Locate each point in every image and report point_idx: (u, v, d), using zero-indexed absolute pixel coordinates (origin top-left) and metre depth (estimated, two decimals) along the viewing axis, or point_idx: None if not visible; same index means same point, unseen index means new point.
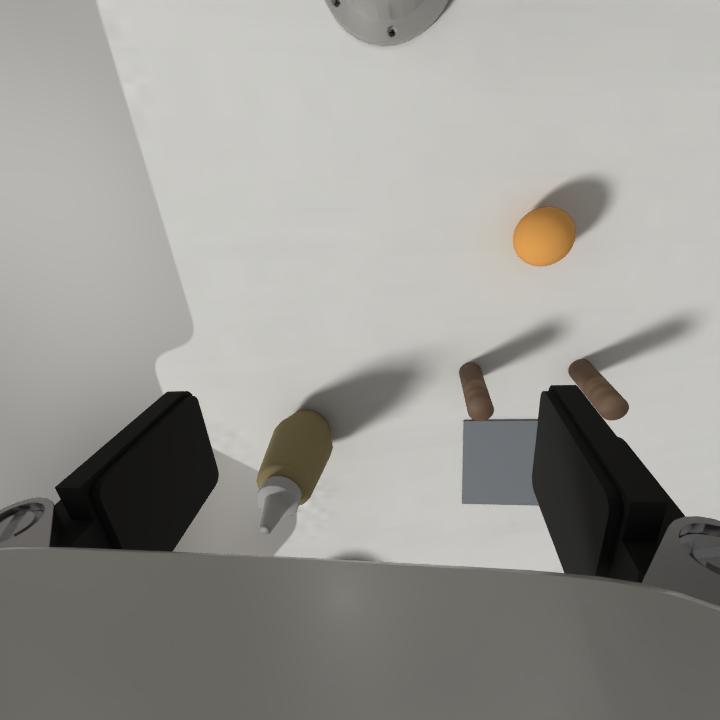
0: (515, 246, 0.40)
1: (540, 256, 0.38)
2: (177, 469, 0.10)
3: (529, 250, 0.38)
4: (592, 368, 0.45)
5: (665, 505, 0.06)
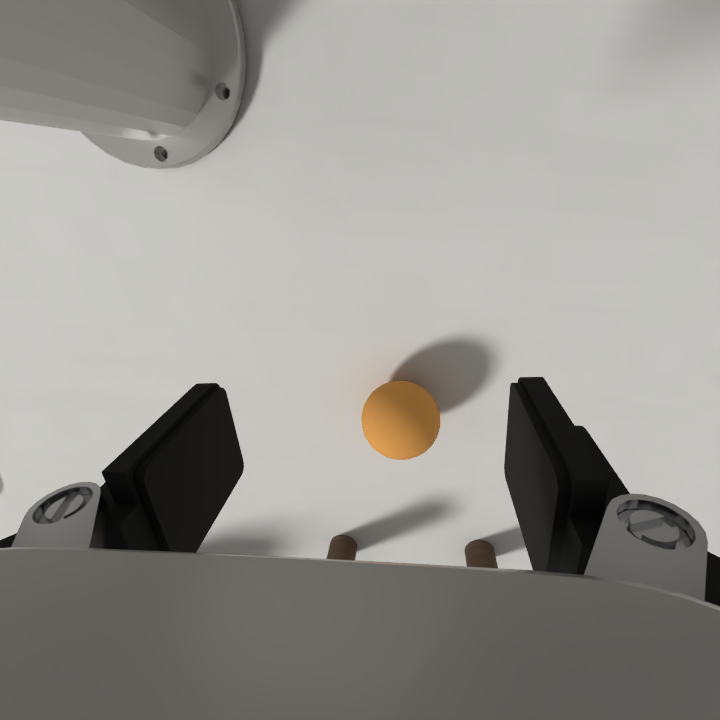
0: (363, 430, 0.29)
1: (389, 455, 0.27)
2: (208, 458, 0.10)
3: (374, 446, 0.27)
4: (487, 563, 0.34)
5: (607, 483, 0.06)
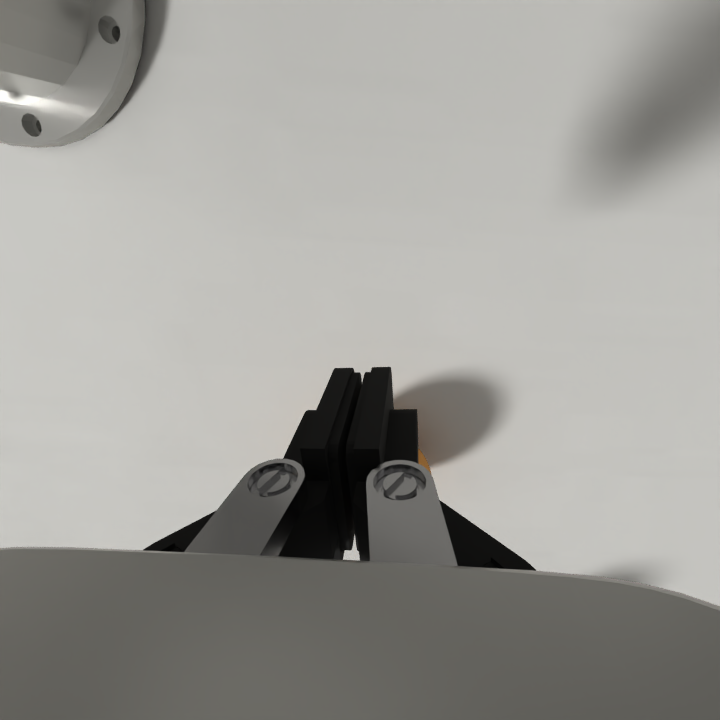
0: None
1: None
2: None
3: None
4: None
5: (378, 451, 0.08)
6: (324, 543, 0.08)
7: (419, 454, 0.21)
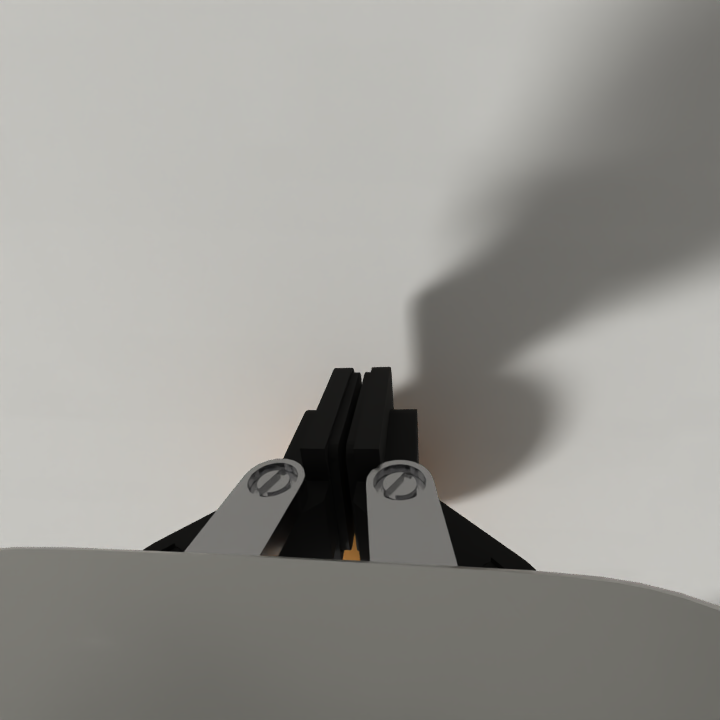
0: None
1: None
2: None
3: None
4: None
5: (378, 451, 0.08)
6: (324, 543, 0.08)
7: None
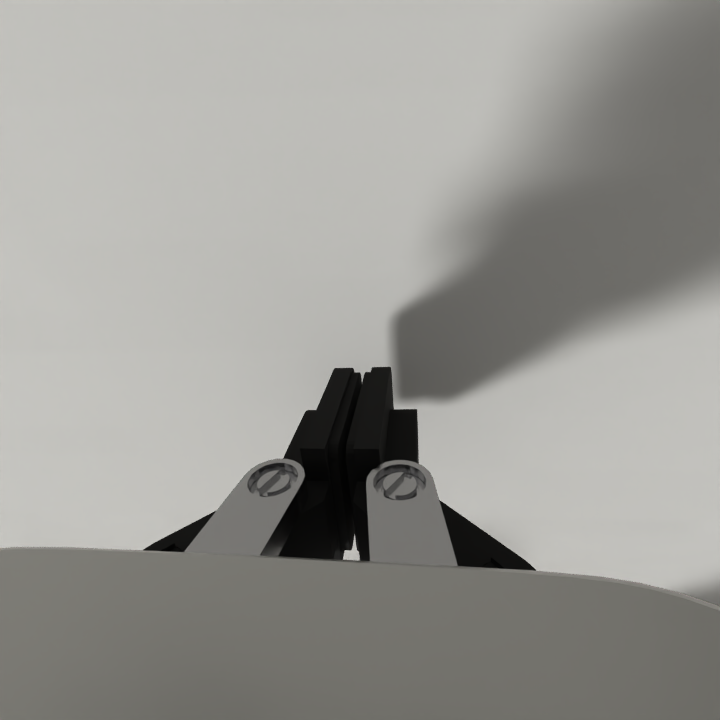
0: None
1: None
2: None
3: None
4: None
5: (378, 451, 0.08)
6: (324, 543, 0.08)
7: None
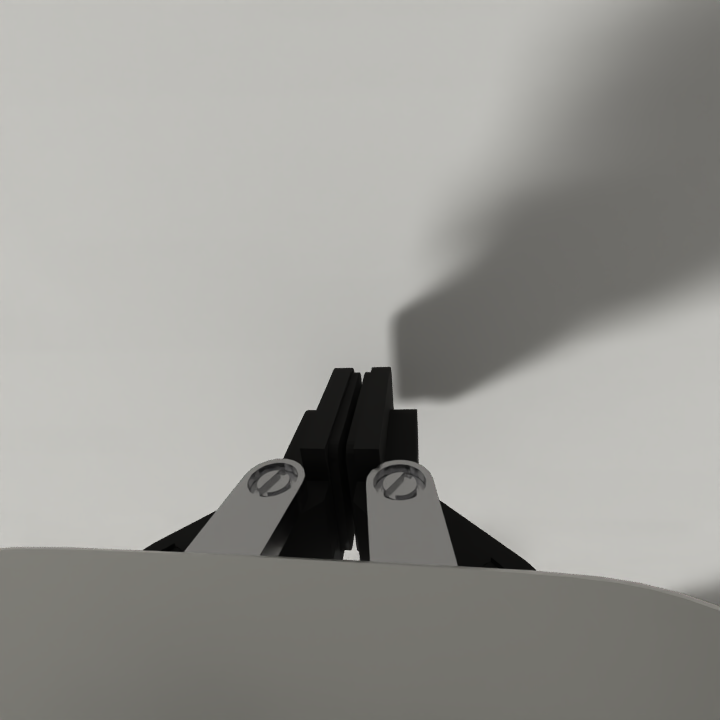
0: None
1: None
2: None
3: None
4: None
5: (378, 451, 0.08)
6: (324, 543, 0.08)
7: None
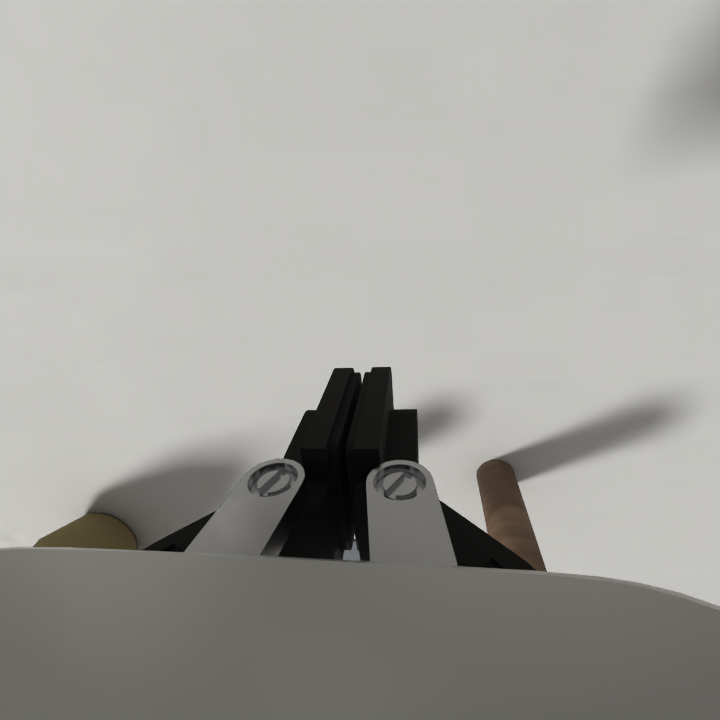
0: None
1: None
2: None
3: None
4: (507, 483, 0.26)
5: (378, 451, 0.08)
6: (324, 543, 0.08)
7: None
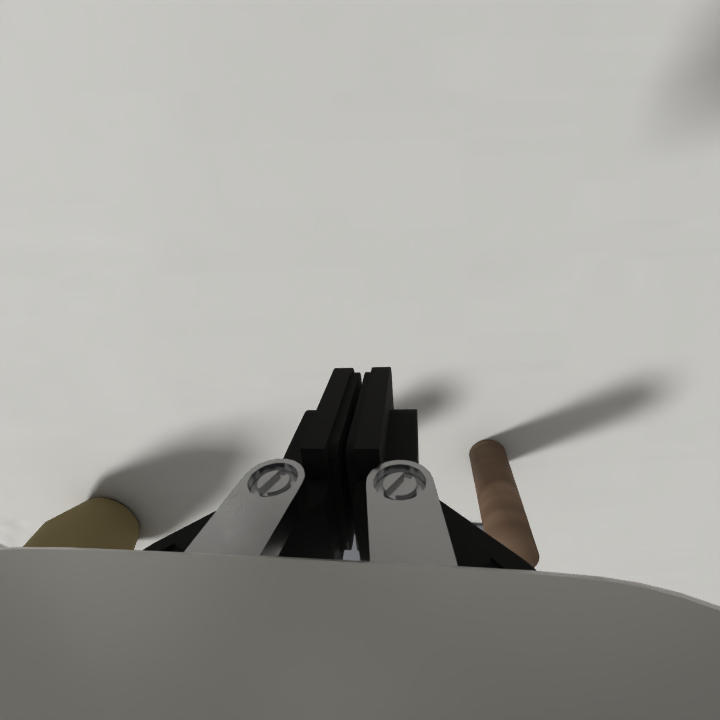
0: None
1: None
2: None
3: None
4: (498, 461, 0.27)
5: (378, 451, 0.08)
6: (324, 543, 0.08)
7: None
